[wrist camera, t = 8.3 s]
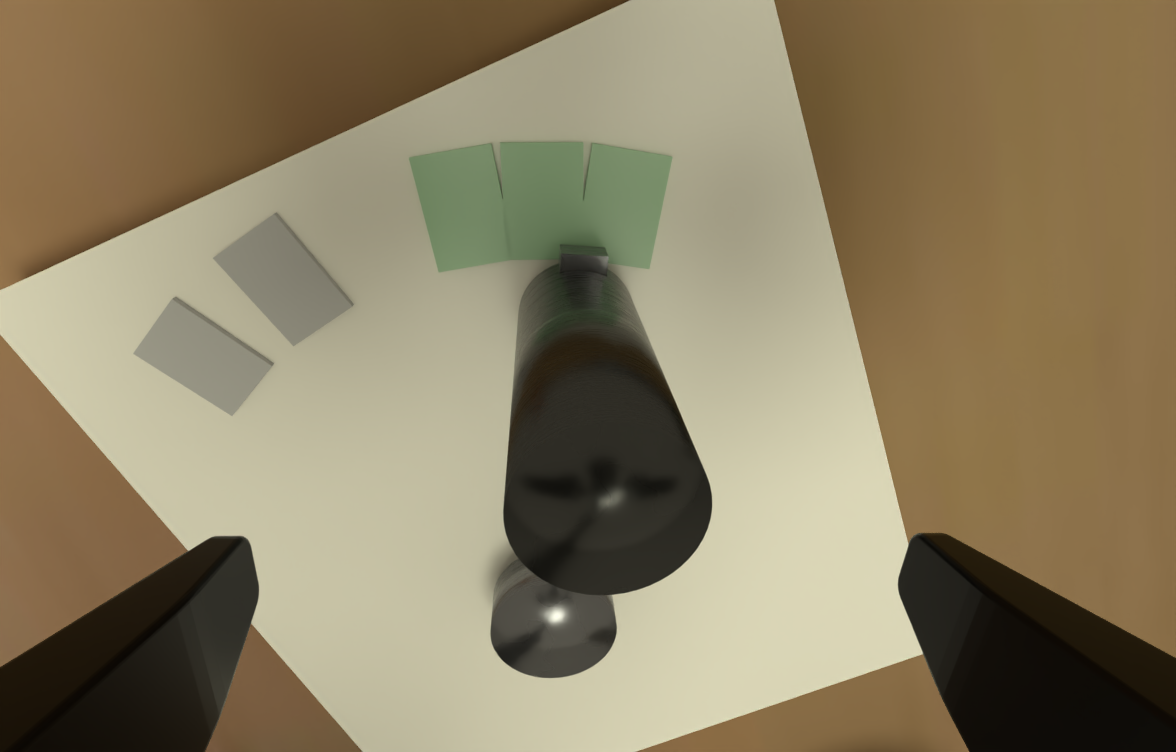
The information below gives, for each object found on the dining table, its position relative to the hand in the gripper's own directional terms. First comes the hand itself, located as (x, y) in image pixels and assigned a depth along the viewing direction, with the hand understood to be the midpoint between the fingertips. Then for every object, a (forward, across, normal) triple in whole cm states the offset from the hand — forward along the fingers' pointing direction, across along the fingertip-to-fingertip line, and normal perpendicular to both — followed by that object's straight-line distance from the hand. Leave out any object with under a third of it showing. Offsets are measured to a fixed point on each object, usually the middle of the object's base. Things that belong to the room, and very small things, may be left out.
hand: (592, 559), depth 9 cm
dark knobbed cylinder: (+10, 0, +5) cm, 11 cm away
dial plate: (+13, 0, +7) cm, 15 cm away
